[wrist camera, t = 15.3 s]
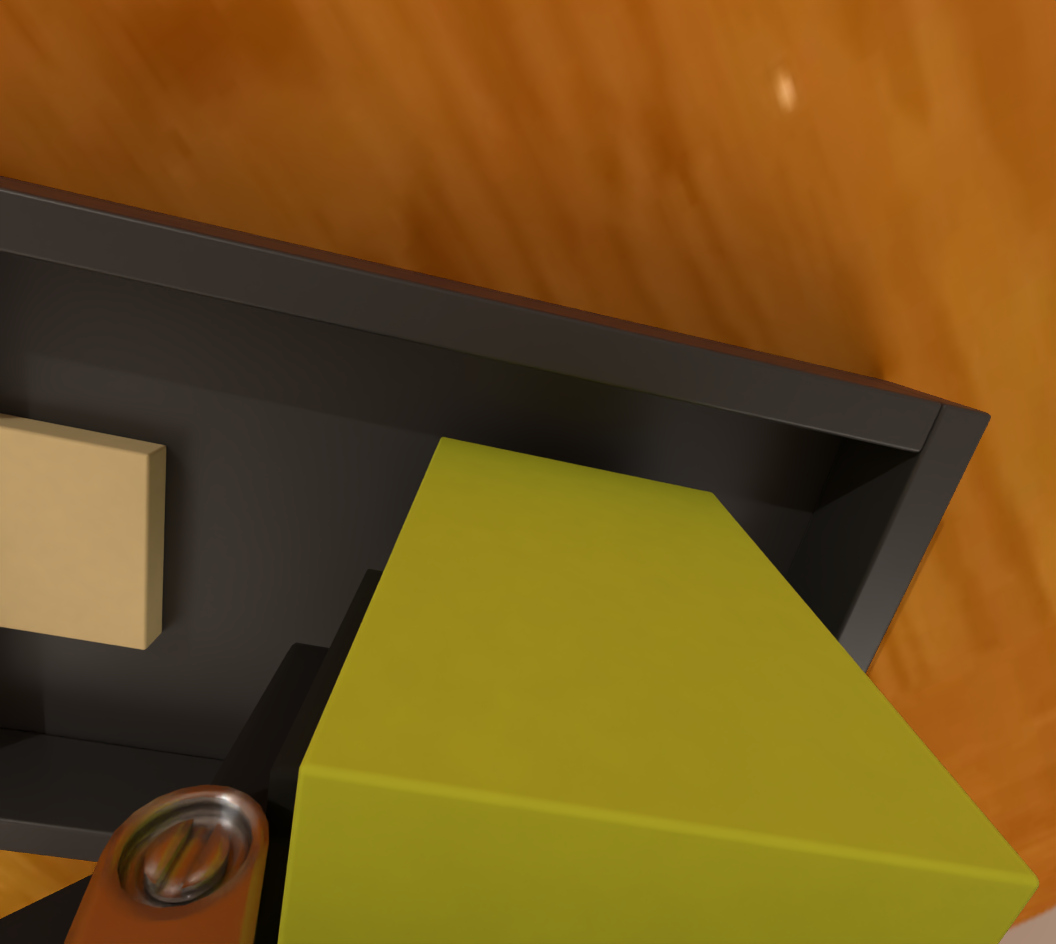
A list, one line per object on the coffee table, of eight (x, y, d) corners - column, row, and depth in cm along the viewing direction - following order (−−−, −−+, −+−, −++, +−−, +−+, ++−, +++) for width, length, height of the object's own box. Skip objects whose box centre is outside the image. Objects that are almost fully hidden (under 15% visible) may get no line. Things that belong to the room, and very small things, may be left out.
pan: (888, 380, 11) (994, 414, 9) (697, 832, 15) (733, 944, 12) (-129, 145, 9) (-353, 105, 7) (-59, 722, 13) (-189, 827, 11)
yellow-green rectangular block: (713, 491, 10) (1048, 883, 4) (603, 808, 12) (692, 1381, 6) (441, 435, 9) (295, 769, 3) (379, 774, 12) (225, 1351, 5)
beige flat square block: (167, 444, 11) (148, 455, 10) (163, 632, 12) (145, 651, 11) (-75, 397, 10) (-109, 405, 10) (-53, 597, 11) (-82, 615, 11)
